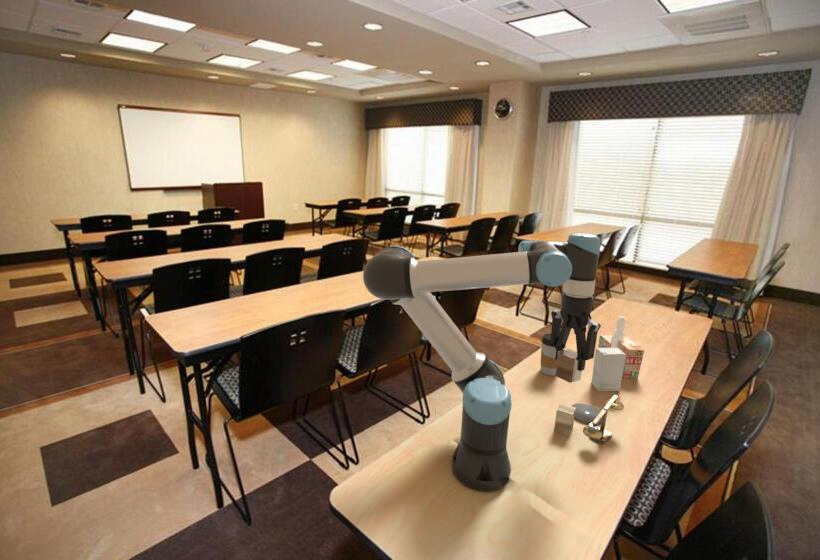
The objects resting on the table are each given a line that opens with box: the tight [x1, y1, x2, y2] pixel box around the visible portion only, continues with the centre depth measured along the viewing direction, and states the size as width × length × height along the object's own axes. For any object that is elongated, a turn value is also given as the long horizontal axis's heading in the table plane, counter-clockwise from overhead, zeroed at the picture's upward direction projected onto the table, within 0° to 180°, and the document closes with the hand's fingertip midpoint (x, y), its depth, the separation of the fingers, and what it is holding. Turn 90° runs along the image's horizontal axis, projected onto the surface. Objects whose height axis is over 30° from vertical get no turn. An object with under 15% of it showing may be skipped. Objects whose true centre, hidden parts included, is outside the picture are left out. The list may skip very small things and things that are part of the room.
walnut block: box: [555, 348, 577, 384], centre depth 110 cm, size 4×4×7 cm
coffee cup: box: [540, 333, 557, 377], centre depth 156 cm, size 8×8×15 cm
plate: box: [571, 402, 602, 425], centre depth 130 cm, size 10×10×1 cm
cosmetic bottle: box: [611, 315, 626, 348], centre depth 161 cm, size 6×6×22 cm
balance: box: [582, 394, 625, 445], centre depth 118 cm, size 19×5×11 cm, turn 132°
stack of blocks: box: [597, 334, 645, 379], centre depth 163 cm, size 21×6×12 cm, turn 1°
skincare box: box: [590, 347, 626, 392], centre depth 146 cm, size 8×6×15 cm
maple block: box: [553, 402, 576, 437], centre depth 121 cm, size 4×4×7 cm
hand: (568, 376), depth 110 cm, fingers closed on walnut block, 4 cm apart
